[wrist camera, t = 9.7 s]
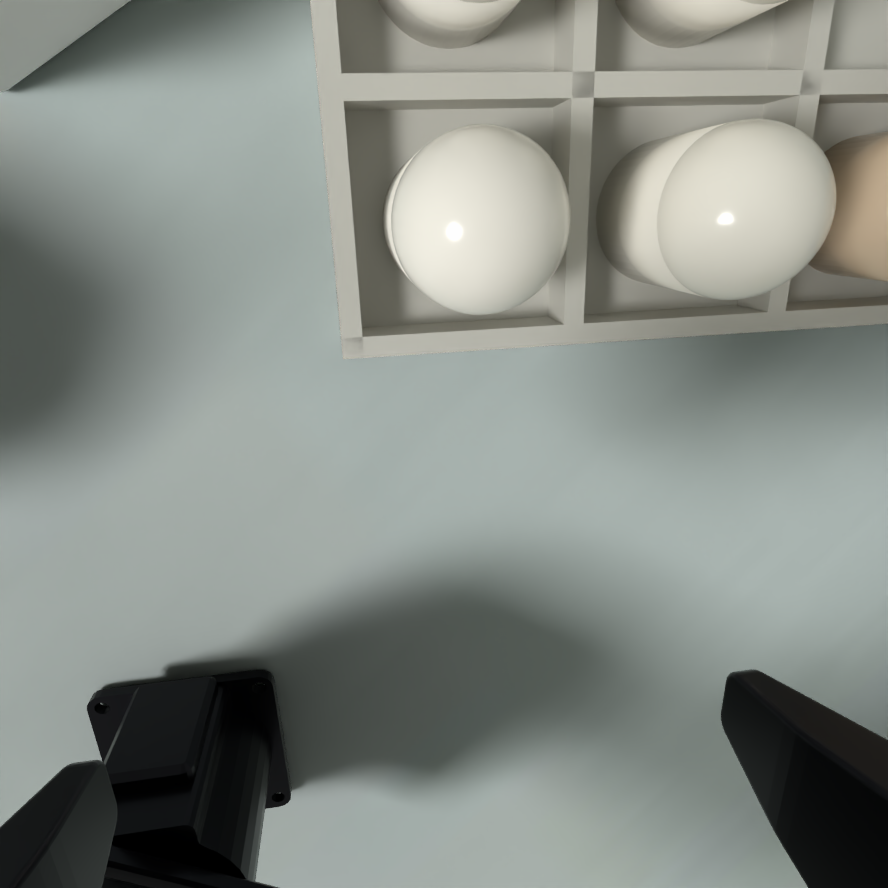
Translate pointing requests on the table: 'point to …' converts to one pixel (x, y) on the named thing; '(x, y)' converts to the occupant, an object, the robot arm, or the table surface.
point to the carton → (580, 155)
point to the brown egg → (858, 210)
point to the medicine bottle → (43, 31)
